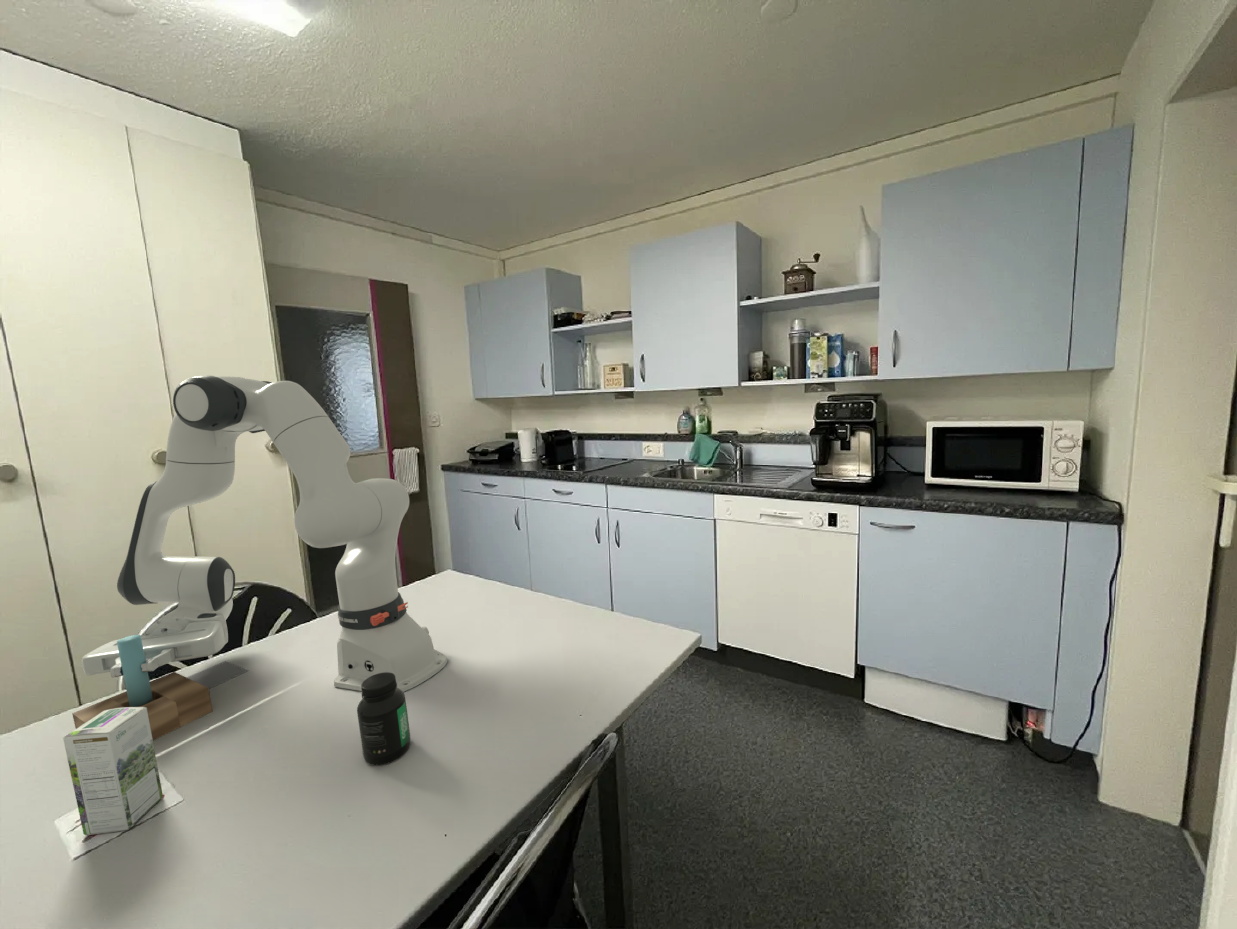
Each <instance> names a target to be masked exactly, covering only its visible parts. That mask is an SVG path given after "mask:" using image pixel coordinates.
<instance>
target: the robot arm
mask: <svg viewBox="0 0 1237 929" xmlns="http://www.w3.org/2000/svg"><path fill="white" fill-rule="evenodd" d="M172 397H173V398H172V404H173V409H174V412H175V414H174V415H173V418H172V421H171V424H170V428H169V433H168V437H167V445H166V451H165V453H166V456H165V465H164V466H165V467H164V469H163V471H162V474H161V475H160V477H159V479H158V480H156V481H153V482H151V483H150V484H148V485H147V487H146V488H145V490H144V492H143V494H142V496H141V498H140V502H139V505H138V509H137V513H136V517H135V520H134V525H133V530H132V534H131V538H130V541H129V546H128V551H127V555H126V558H125V560H124V562H123V566H122V567H121V570H120V573H119V576H118V579H117V583H116V584H117V585H116V588H117V592H118V593H119V594H120V596H121V597H122V598H123V599H125V601H127V602H128V603H130V604H131V605H135V606H142V605H153V604H167V603H168V604H169V603H170V604H171V603H172V604H173V603H176V604H177V603H178V604H177V607H176V608H175V609H173V610H171V611H169V612H167V613H166V615H165V614H164V615H163V616H162V617H161V618H159V619H158V620H156V621H155V622H153V623H152V624H151V625H150V626H149V627H148V629H146V630H147V631H146V632H145V635H144V634H143V635H141V639H142V644H143V650H144V655H145V662H143V663H142V664H141V668H142V672H148V673H149V672H154V671H155V670H156V669H157V668H159V667H162V666H164V665H167V664H169V663H172V662H173V663H174V662H180V661H186V660H193V659H197V658H198V659H199V658H204V657H210V656H212V655H215V654H218V652H220V651H221V650H222V649H223V648H224V647H225V645H226V644H227V643H228V642H229V633H228V632H229V631H228V626H227V621H226V620H227V619H228V617H229V616H230V614H231V612H232V610H233V606H234V603H233V596H234V592H235V589H236V588H235V587H236V572H235V571H234V569H233V568H232V566H231V565H230V564H229V562H228V561H227V560H226V559H225V558H223V557H220V556H202V555H201V556H199V555H198V556H197V555H196V556H177V555H176V556H173V555H172V556H171V555H166V554H164V553H163V552H162V546H163V543H164V538H165V533H166V529H167V525H168V522H169V518H170V517H171V515H172V514H173V513H174V512H175V511H176V510H179V509H183V508H186V507H188V506H192V505H197V504H201V503H204V502H207V501H211V500H213V499H215V498H217V497H219V496H221V495H222V494H224V493H225V492H226V491H227V490H228V489H229V488H230V487H231V485H232V484H233V480H234V476H235V471H236V470H235V468H236V467H235V466H236V441H237V439H238V437H239V436H241V435H242V434H244V433H247V432H249V433H250V434H256V433H261V432H266V434H267V436H268V437H269V439H270V440H271V442H272V443H273V444H274V446H275V448H276V449H277V451H278V452H279V453H280V455H281V457H282V458H283V459H284V460H285V463H286V464H287V465H288V467H289V469H290V471H291V472H292V474H293V475H294V477H295V479H296V482H297V486H298V490H299V504H298V505H297V508H296V511H295V514H294V518H293V519H294V522H293V523H294V527H295V530H296V533H297V535H298V536H299V538H300V539H301V540H302V541H303V542H304V543H305V544H307V545H308V546H310V547H312V548H317V549H326V548H332V547H338V546H344V545H345V546H346V548H345V550H344V553H343V555H342V556H341V559H340V560H339V561H338V564H337V565H336V568H335V572H334V575H335V576H334V577H335V582H336V588H337V589H336V591H337V596H338V602H339V604H338V606H337V616H338V617H337V618H338V622H339V625H340V626H341V631H340V634H339V638H338V640H337V642H336V646H337V647H336V651H337V652H336V653H337V672H338V674H337V675H336V677H335V678H334V680H333V686H334V688H335V687H336V688H340V689H347V690H353V691H360V692H362V689H361V685H362V683H363V681H365V680H366V679H367V678H369V677H370V676H373V675H375V674H379V673H384V672H389V673H393V674H394V675H395V677H396V683H397V688H399V689H401V690H402V691H403V692H404V693H405V692H406V691H408V690H409V691H410V690H411V689H413V688H415V687H417V686H418V685H420V684H422V683H424V682H425V681H427V680H429V679H430V678H431V677H433V676H434V675H436V674H437V673H439V672H440V671H441V670H442V669H443V668H444V667H445V666H446V665H447V663H448V661H449V658H448V656H447V655H446V654H444V653H442V652H440V651H438V650H436V649H435V648H434V645H433V644H434V643H433V639H432V637H431V635H430V631H429V629H428V627H427V626H421V625H420V624H419V623H418V622H416V620H414V618H413V617H411V616H410V615H409V613H408V612H407V608H409V606H408V604H409V602H408V601H406V602H405V601H404V599H403V597H402V594H401V593H400V592H399V588H398V580H397V569H396V568H397V567H396V552H397V550H396V549H397V544H398V537H399V532H400V528H401V523H402V521H403V518H404V517H405V514H407V512H408V509H409V507H410V495H409V492H408V490H407V489H406V487H405V486H404V484H402V483H401V482H400V481H398V480H397V479H392V478H384V477H383V478H382V477H381V478H378V477H377V478H376V477H375V478H369V479H366V480H361V481H359V482H354V480H352V477H351V476H350V473H349V470H348V466H347V463H348V461H349V459H350V457H351V448H350V445H349V444H348V443H347V441H346V439H345V438H344V436H342V434H341V433H340V431H339V430H338V428H337V426H336V425H335V423H333V422H332V421H333V420H331V418H330V416H329V415H328V414H327V412H325V410H324V409H323V407H322V406H321V405H320V404H319V403H318V401H317V400H316V398H314V397H313V396H312V395H311V394H310V393H309V392H308V391H307V390H306V389H305V388H304V387H303V386H301V385H300V384H299V383H297V382H294V381H291V380H278V381H273V382H272V381H269V380H268V381H267V380H256V379H251V378H245V377H241V376H223V375H222V376H220V375H219V376H215V375H209V374H208V375H197V376H193V377H187V378H186V379H184V380H182V381H180V382H179V384H178V385H177V386H176V388H175V389H174V393H173V396H172ZM406 605H407V606H406ZM120 639H121V638H118V639H114V640H111V641H109V642H107V643H105V644H102V645H100V646H99V647H97V648H95V649H93V650H91V651H89V652H88V653H86V654H85V655H83V656H82V658H81V668H82V671H83V672H84V674H85V675H86V676H95V675H101V674H107V673H110V677H111V678H118V677H124V676H123V671H122V666H121V661H120V656H119V651H118V646H117V641H118V640H120Z"/></svg>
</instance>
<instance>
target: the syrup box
mask: <svg viewBox="0 0 1237 929" xmlns="http://www.w3.org/2000/svg"><path fill="white" fill-rule="evenodd" d="M63 744H64V749H65V752H66V758H67V763H68V768H69V772H70V777H71V782H72V786H73V790H74V795H75V800H76V804H77V808H78V814H79V818H80V824H81V829H82V834H83V835H85V836H91V835H98V834H101V835H102V834H108V833H113V832H114V833H115V832H121V831H129V830H130V829H131V828H132V827H133V826H134V825H135V824H137V823H138V822H139V820H141V819H142V818H143V816H145V815H146V814H147V813H148V812H149V811H150V810H151V809H152V808H153V807H154V806H156V804H157V803H158V802H160V800H162V798H163V794H164V793H163V790H162V783H161V779H160V773H159V767H158V761H157V756H156V752H155V747H154V746H155V745H154V740H153V739H152V734H151V729H150V723H149V718H148V713H147V708H145V707H124V708H115V709H110V710H105V711H103V712H101V713H100V714H98V715H97V716H95V717H94V718H92V719H91V720H89V721H88V722H86V723H85V724H83V725H82V726H80V727H79V728H77V729H76V728H75V729H74V730H73V731H71V732H70V733H68V734H67V735H65V736H64V737H63Z"/></svg>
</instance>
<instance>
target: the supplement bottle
mask: <svg viewBox="0 0 1237 929" xmlns="http://www.w3.org/2000/svg"><path fill="white" fill-rule="evenodd" d="M361 689H362V691H361V698H362V699H361V700H360V701H359V702H358V705H357V708H356V714H357V720H358V728H359V735H360V743H361V747H362V755H363V759H364V761H365V762H366V763H367V764H369V765H372V766H383V765H388V764H390V763H392V762H395V761H397V760H398V759H400V758H401V757H403V755H405V753H407V752H408V750H409V748H410V746H411V742H412V740H411V731H410V723H409V716H408V708H407V700H406V699H407V698H406V694H405V691H404V692H403V691H402V690H401V689H399V688H397V683H396V677H395V675H394V674H393V673H389V672H384V673H379V674H375V675H373V676H370V677H369V678H367V679H366V680H365V681H363V683H362V685H361Z"/></svg>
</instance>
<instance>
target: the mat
mask: <svg viewBox="0 0 1237 929" xmlns="http://www.w3.org/2000/svg"><path fill="white" fill-rule="evenodd" d="M248 671H250V670H248V669H246V668H244V667H241V666H238V665H236V664H233V663H231V662H229V661H226V660H224V661H222V662H220V663H217V664H215V665H213V666H210V667H209V668H205V669H203V670H201V671H198V672H196V673H193V674H192V675H189V676H186V677H187V678H189V679H191V680H193V681H195V682H197V683H199V684H201V685H203V686H205V687H208V689H212V688H215V687H216V686H218V685H221V684H222V683H225V682H227V681H229V680H231V679H234V678H236V677H238V676H240V675H243V674H244V673H247V672H248Z"/></svg>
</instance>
